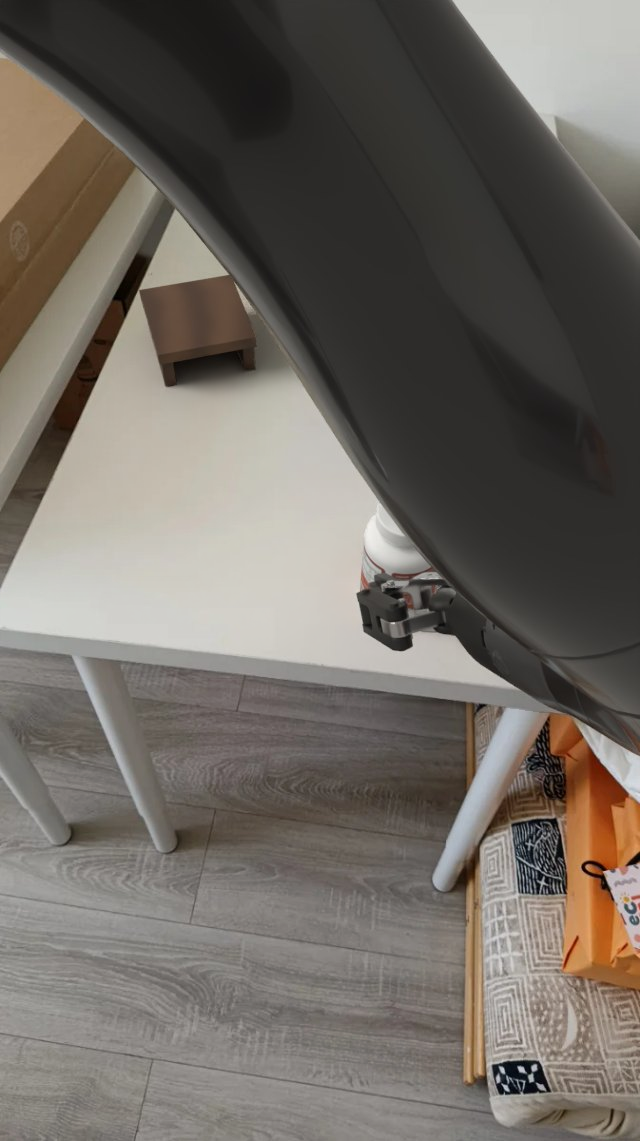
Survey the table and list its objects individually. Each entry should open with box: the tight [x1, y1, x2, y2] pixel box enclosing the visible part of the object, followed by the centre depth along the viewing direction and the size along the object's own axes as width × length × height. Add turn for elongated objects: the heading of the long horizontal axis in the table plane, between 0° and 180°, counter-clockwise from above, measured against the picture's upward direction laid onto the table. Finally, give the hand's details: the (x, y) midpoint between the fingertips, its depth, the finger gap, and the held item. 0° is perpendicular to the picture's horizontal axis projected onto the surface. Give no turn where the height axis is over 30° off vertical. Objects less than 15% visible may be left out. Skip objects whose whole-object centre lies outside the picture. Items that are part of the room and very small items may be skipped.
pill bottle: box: [359, 501, 436, 609], centre depth 61 cm, size 6×6×11 cm
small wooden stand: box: [138, 274, 258, 387], centre depth 82 cm, size 10×11×4 cm
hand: (439, 573), depth 53 cm, fingers open, 8 cm apart
